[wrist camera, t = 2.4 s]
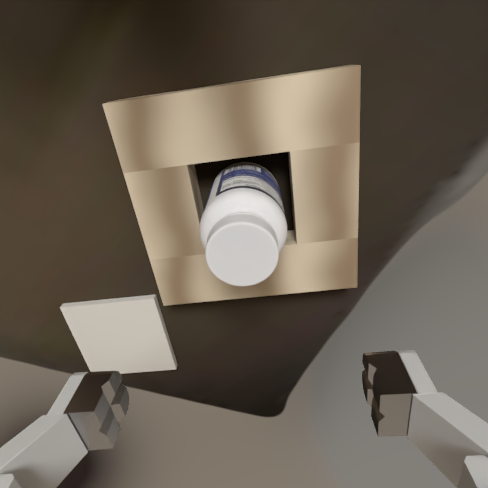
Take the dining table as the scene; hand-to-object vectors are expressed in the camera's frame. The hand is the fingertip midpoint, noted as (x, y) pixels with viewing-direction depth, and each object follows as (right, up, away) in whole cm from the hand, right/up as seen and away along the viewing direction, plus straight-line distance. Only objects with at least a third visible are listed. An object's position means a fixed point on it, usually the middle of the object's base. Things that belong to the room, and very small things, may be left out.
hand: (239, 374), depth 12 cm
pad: (-12, -5, +23) cm, 26 cm away
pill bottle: (0, +8, +16) cm, 18 cm away
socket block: (0, +8, +16) cm, 18 cm away
